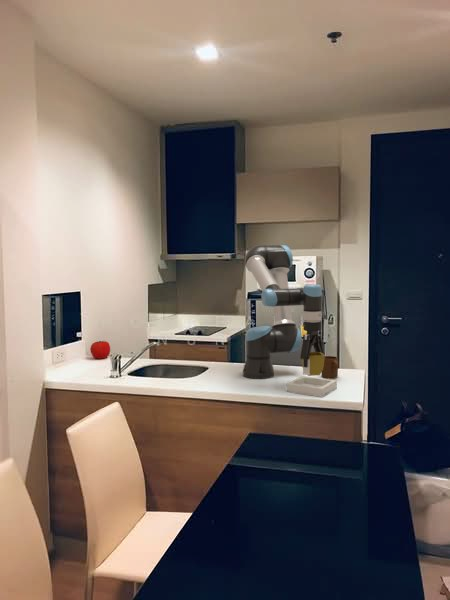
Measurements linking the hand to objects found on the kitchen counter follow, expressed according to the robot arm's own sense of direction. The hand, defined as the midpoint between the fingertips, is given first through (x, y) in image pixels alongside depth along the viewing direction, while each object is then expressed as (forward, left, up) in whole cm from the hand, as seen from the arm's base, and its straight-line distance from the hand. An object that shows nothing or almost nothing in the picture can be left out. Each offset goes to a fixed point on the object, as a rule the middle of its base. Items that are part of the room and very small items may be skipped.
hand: (312, 371), depth 215 cm
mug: (-1, +25, -8) cm, 26 cm away
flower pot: (0, 0, -1) cm, 1 cm away
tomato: (-131, +2, -8) cm, 131 cm away
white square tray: (0, 0, -8) cm, 8 cm away
